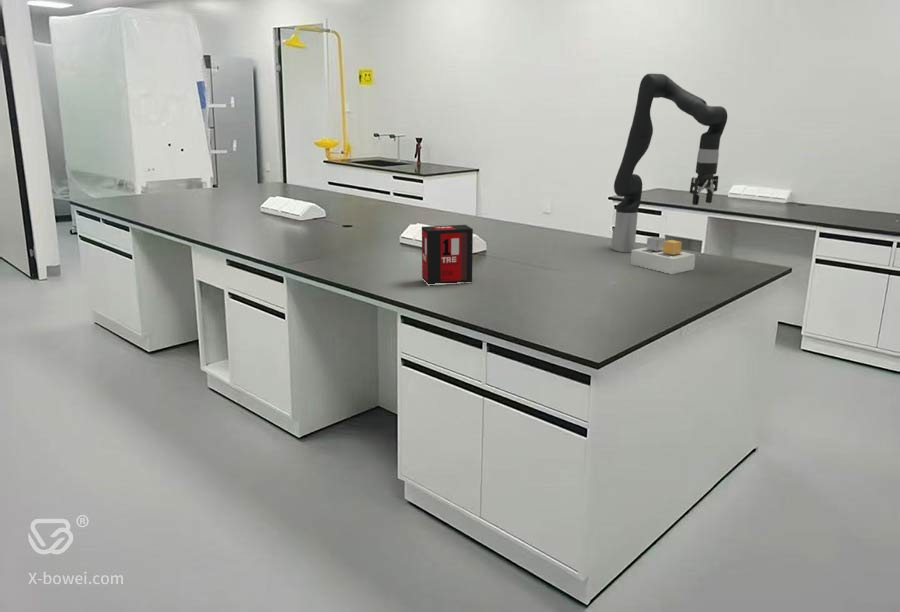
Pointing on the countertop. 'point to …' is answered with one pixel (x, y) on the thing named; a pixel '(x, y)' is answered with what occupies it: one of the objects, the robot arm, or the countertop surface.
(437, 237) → the cleaning product box
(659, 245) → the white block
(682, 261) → the panel
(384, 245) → the countertop surface
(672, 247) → the tan cardboard-coloured cube
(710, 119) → the robot arm
